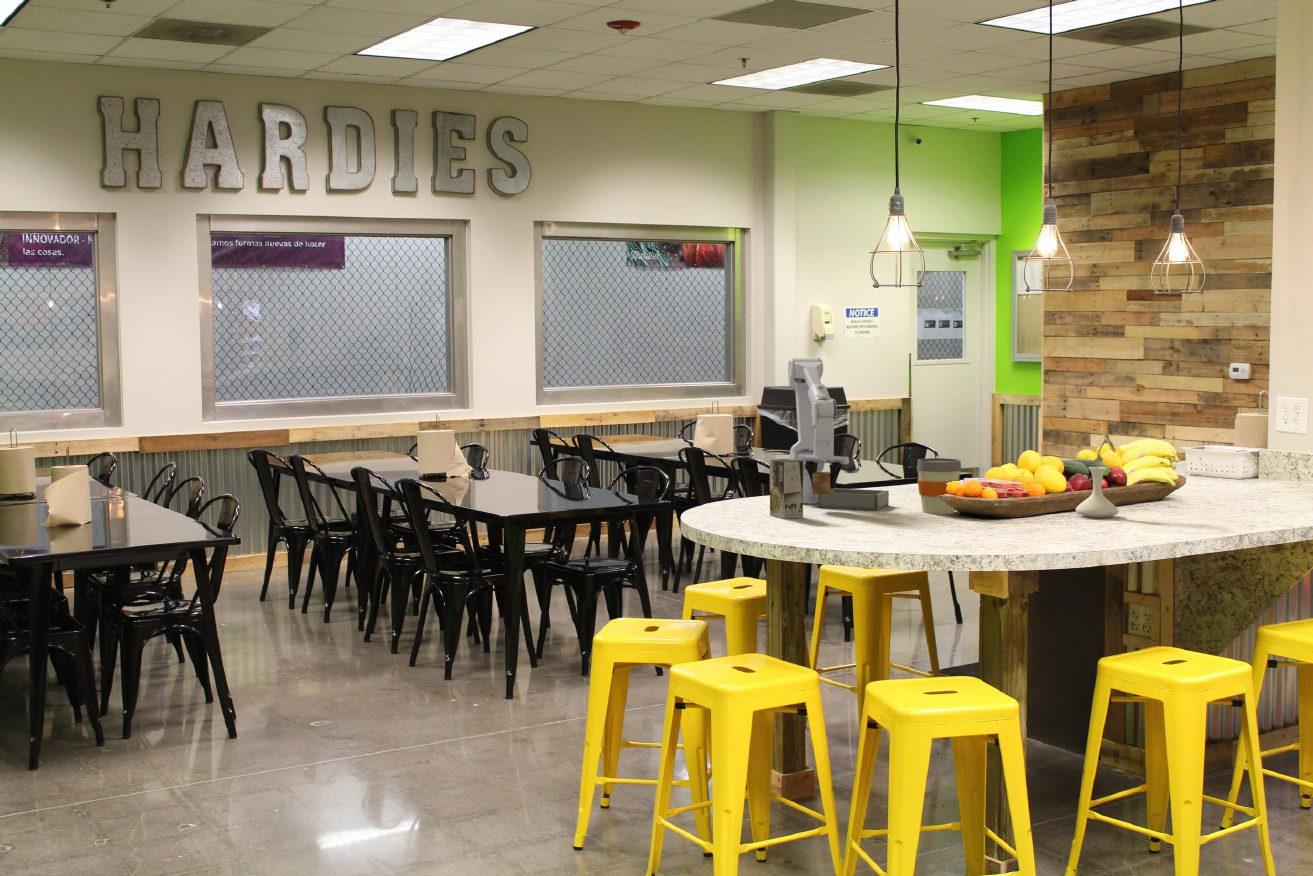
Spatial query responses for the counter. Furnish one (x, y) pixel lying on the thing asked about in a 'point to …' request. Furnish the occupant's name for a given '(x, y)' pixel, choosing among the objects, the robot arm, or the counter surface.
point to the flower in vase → (1098, 490)
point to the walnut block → (822, 483)
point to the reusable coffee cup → (936, 482)
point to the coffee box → (786, 488)
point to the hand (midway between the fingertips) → (823, 487)
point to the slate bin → (854, 499)
